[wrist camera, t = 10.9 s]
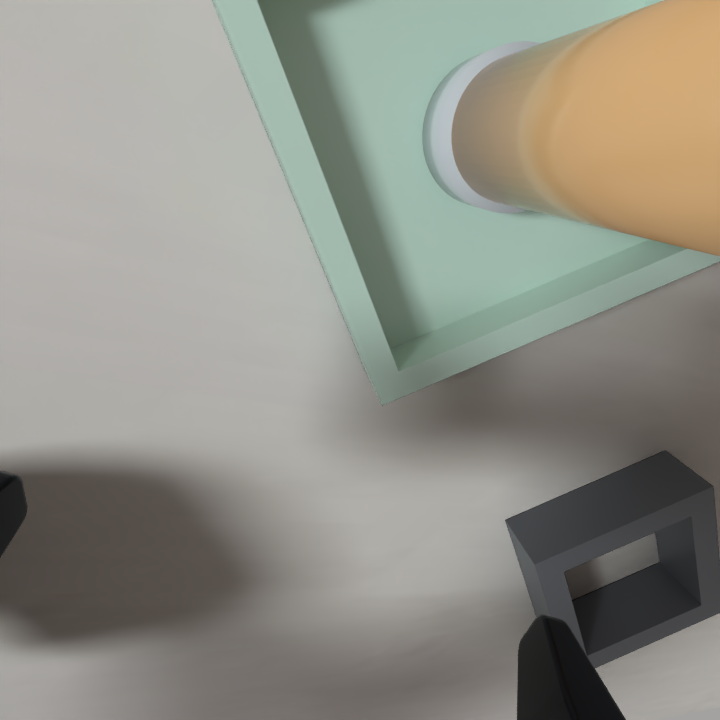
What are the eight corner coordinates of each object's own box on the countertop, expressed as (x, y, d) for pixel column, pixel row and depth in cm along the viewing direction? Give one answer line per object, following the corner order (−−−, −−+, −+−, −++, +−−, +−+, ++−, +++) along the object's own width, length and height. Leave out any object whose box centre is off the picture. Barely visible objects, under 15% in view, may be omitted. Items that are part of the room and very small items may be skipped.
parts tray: (365, 372, 21) (382, 405, 19) (205, -17, 16) (194, -51, 13) (675, 240, 22) (735, 254, 19) (632, -190, 16) (710, -259, 13)
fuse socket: (540, 630, 30) (569, 679, 27) (505, 520, 26) (534, 564, 23) (681, 568, 30) (723, 611, 27) (665, 450, 26) (713, 486, 23)
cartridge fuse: (505, 230, 19) (1122, 445, 6) (396, 163, 18) (885, 229, 4) (582, 104, 18) (1617, -22, 4) (472, 19, 16) (1561, -607, 3)
